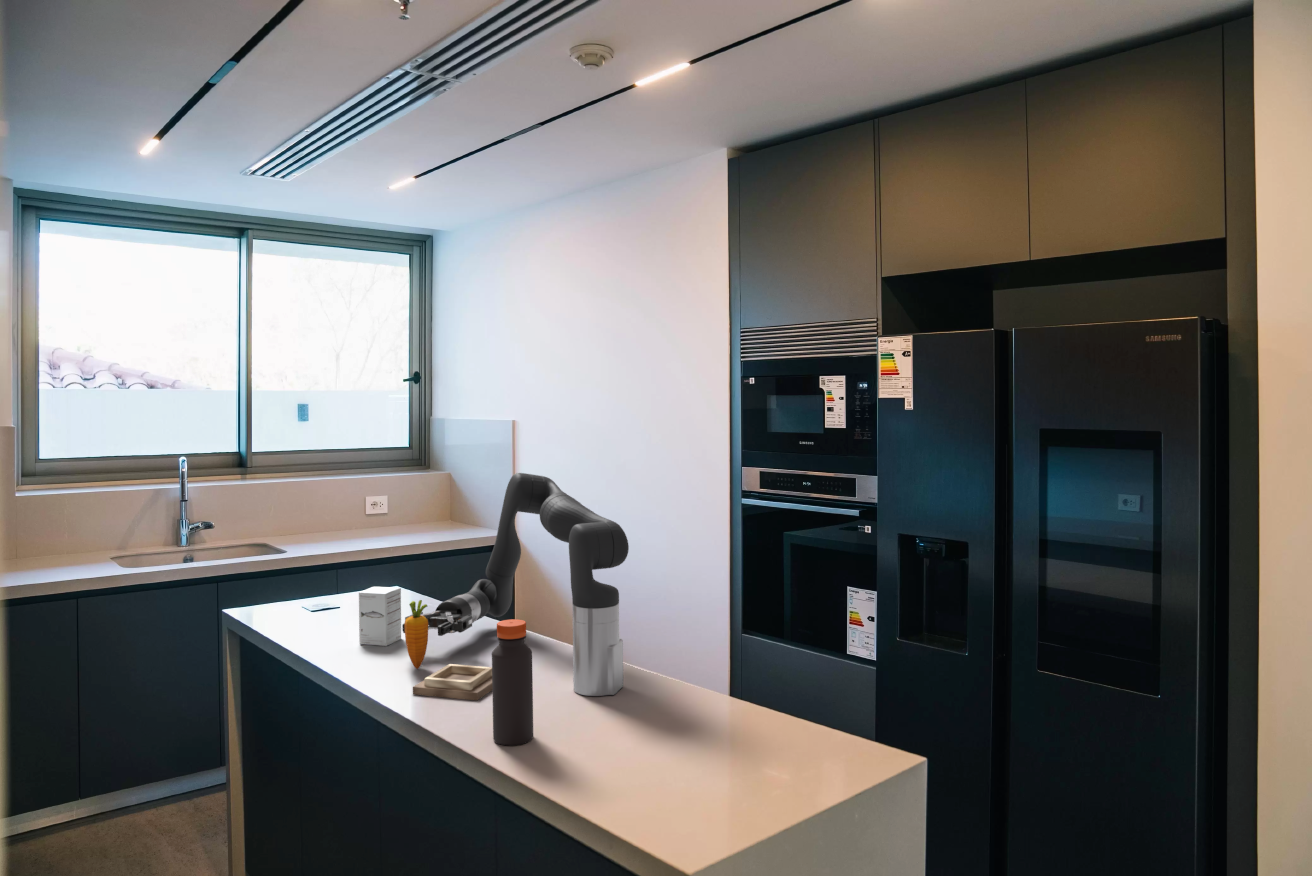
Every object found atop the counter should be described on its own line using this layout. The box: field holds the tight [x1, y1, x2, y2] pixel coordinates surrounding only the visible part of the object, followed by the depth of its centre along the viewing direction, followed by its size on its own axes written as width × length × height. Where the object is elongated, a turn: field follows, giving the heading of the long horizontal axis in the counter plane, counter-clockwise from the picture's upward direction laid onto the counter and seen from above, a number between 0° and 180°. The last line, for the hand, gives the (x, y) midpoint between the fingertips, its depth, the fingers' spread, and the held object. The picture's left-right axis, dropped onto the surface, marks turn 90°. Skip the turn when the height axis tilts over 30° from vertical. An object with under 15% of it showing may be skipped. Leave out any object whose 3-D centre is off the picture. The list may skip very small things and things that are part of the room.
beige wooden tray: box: [412, 663, 492, 701], centre depth 180 cm, size 14×12×3 cm
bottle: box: [491, 618, 534, 747], centre depth 152 cm, size 7×7×20 cm
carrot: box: [404, 599, 429, 670], centre depth 192 cm, size 5×5×15 cm
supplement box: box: [358, 586, 402, 647], centre depth 214 cm, size 7×7×13 cm
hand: (421, 629), depth 194 cm, fingers open, 8 cm apart
